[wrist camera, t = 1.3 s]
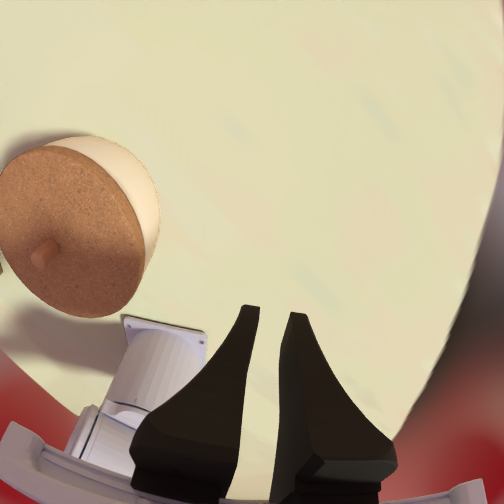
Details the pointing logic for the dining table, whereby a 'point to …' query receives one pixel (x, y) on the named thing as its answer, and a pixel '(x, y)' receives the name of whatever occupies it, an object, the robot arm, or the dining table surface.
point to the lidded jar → (79, 223)
